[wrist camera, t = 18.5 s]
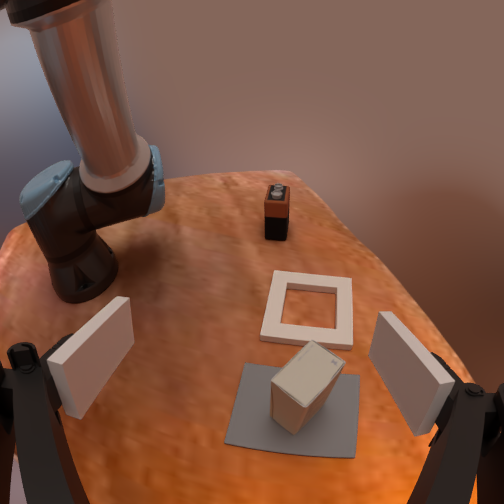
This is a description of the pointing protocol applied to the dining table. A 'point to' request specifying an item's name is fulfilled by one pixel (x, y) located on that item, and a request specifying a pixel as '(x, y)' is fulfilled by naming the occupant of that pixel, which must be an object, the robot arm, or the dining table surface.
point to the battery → (277, 212)
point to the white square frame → (304, 334)
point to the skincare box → (303, 386)
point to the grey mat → (310, 435)
